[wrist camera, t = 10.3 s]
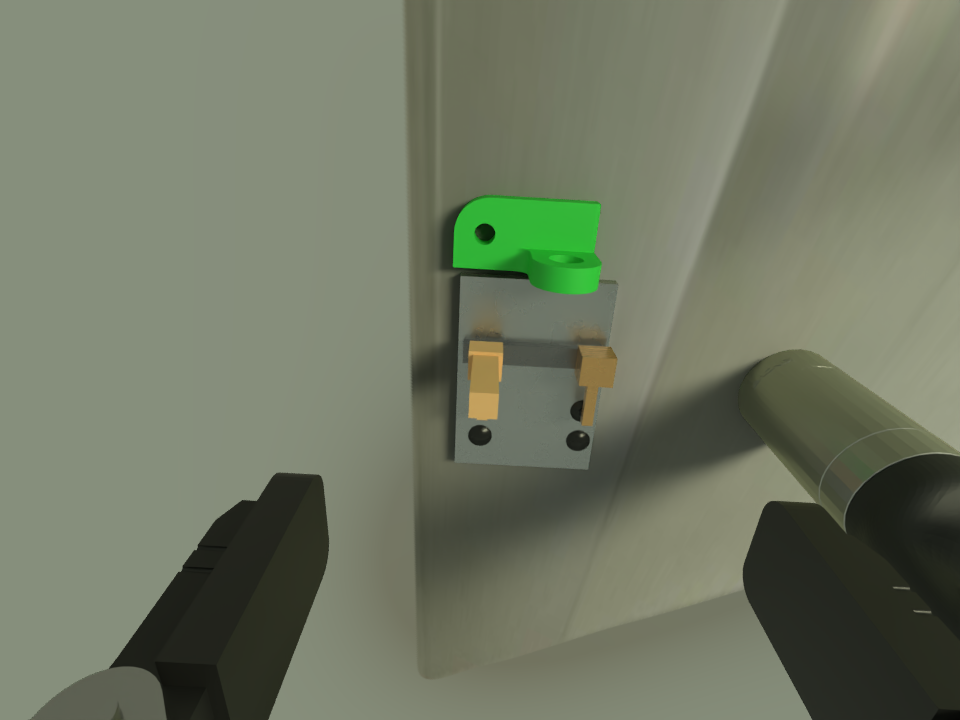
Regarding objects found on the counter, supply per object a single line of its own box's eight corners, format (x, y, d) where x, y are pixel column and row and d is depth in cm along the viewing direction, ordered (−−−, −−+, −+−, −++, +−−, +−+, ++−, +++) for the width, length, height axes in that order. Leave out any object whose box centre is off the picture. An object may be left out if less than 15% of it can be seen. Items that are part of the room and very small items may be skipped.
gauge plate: (615, 280, 46) (628, 296, 42) (586, 462, 55) (594, 492, 50) (461, 272, 46) (457, 287, 42) (455, 455, 55) (451, 484, 50)
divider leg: (502, 337, 47) (504, 390, 38) (497, 410, 51) (498, 476, 41) (470, 336, 47) (464, 388, 38) (467, 409, 51) (460, 474, 41)
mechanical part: (596, 201, 44) (617, 215, 36) (586, 269, 46) (603, 296, 39) (457, 192, 44) (449, 205, 36) (454, 261, 46) (446, 286, 39)
